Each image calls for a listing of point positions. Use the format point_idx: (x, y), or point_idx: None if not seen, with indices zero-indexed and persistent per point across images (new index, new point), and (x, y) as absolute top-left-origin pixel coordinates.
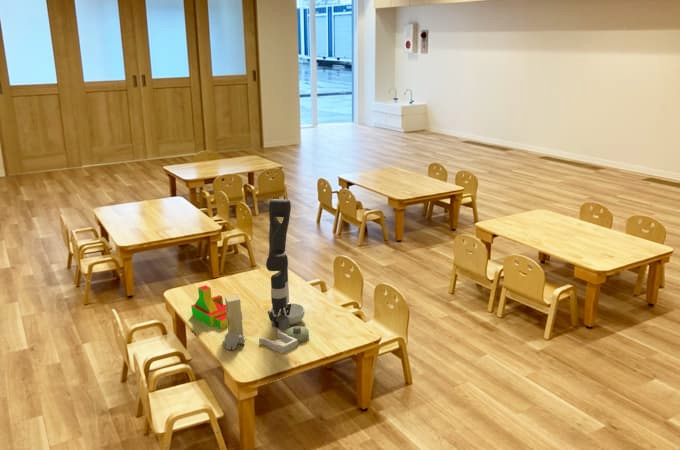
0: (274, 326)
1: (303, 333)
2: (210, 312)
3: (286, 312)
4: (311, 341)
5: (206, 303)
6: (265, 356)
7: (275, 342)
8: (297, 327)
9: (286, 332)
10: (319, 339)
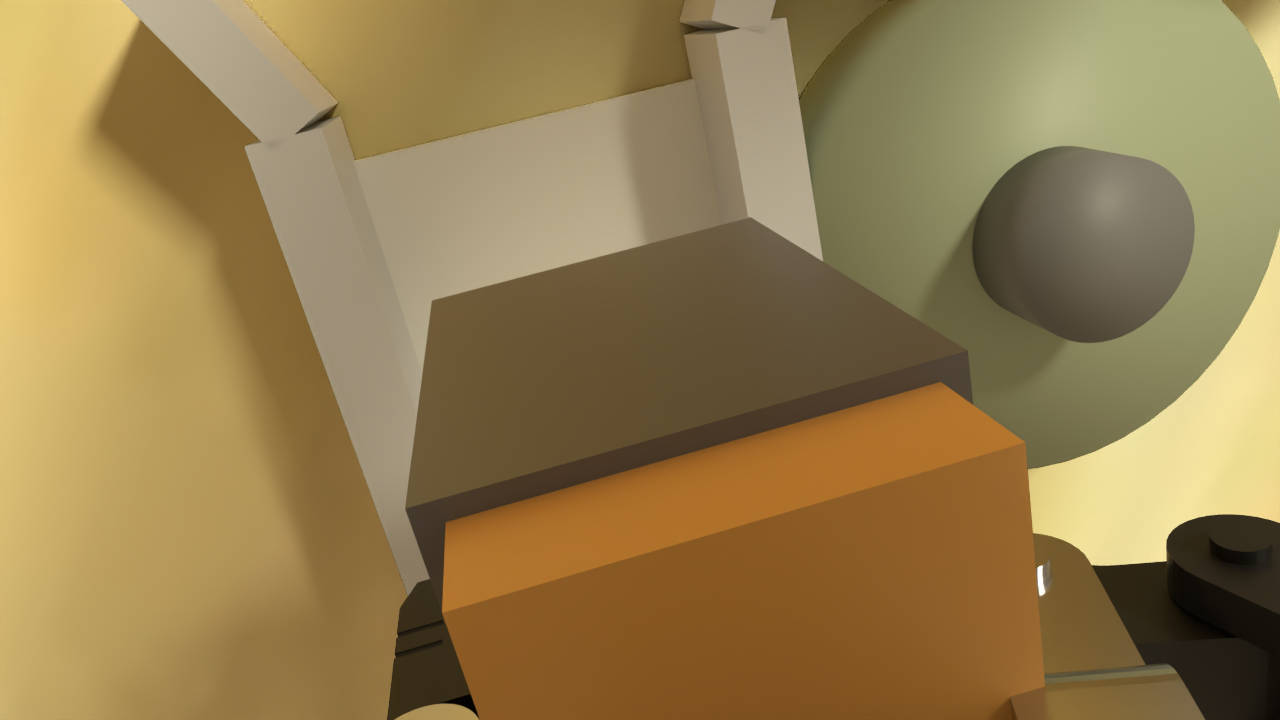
0: (414, 596)
1: (1099, 374)
2: None
3: (1272, 669)
4: (1063, 489)
5: None
6: (106, 554)
7: (508, 188)
8: (1144, 222)
9: (862, 124)
10: (1192, 496)
